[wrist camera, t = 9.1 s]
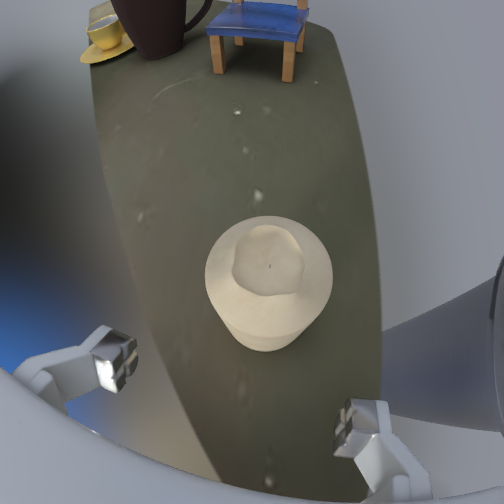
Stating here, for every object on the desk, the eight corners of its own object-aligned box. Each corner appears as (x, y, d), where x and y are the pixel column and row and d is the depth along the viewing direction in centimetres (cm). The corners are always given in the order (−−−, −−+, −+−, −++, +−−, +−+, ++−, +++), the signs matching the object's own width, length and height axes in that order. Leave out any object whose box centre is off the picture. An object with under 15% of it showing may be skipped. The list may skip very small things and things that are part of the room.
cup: (72, 73, 35) (61, 49, 30) (90, 42, 39) (82, 21, 34) (141, 51, 35) (133, 23, 30) (150, 24, 40) (144, 1, 35)
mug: (124, 51, 36) (105, -9, 25) (203, 23, 39) (196, -36, 28) (137, 74, 33) (114, 1, 22) (229, 42, 35) (224, -29, 24)
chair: (293, 84, 31) (302, -33, 17) (211, 74, 32) (197, -35, 18) (305, 49, 34) (313, -44, 20) (236, 40, 36) (230, -48, 22)
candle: (319, 327, 20) (367, 286, 11) (248, 366, 19) (238, 359, 10) (280, 262, 22) (294, 179, 13) (212, 296, 21) (177, 233, 12)
